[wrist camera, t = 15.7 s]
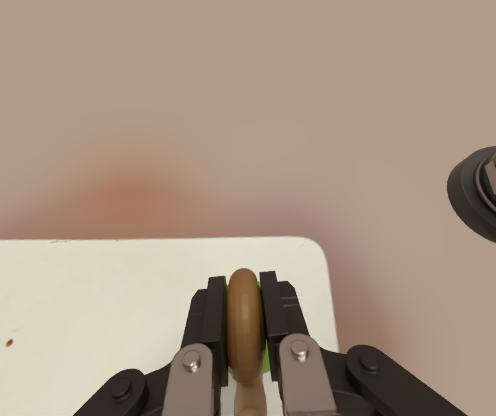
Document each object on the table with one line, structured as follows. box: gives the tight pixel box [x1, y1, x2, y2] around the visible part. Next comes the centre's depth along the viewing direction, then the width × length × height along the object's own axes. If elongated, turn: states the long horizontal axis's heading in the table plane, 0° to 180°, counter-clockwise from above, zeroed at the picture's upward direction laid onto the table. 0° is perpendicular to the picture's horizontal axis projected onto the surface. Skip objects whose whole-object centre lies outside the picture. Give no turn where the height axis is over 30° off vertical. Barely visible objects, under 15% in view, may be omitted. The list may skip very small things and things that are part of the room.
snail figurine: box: [226, 268, 270, 416], centre depth 13 cm, size 5×6×12 cm
